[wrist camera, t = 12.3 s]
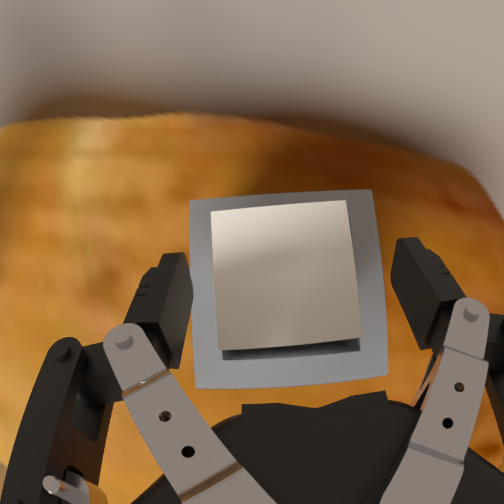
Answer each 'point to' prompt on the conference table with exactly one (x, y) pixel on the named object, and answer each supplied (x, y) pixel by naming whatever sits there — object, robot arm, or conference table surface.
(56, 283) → the conference table surface
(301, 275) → the white square block
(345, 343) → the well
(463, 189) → the conference table surface
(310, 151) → the conference table surface
